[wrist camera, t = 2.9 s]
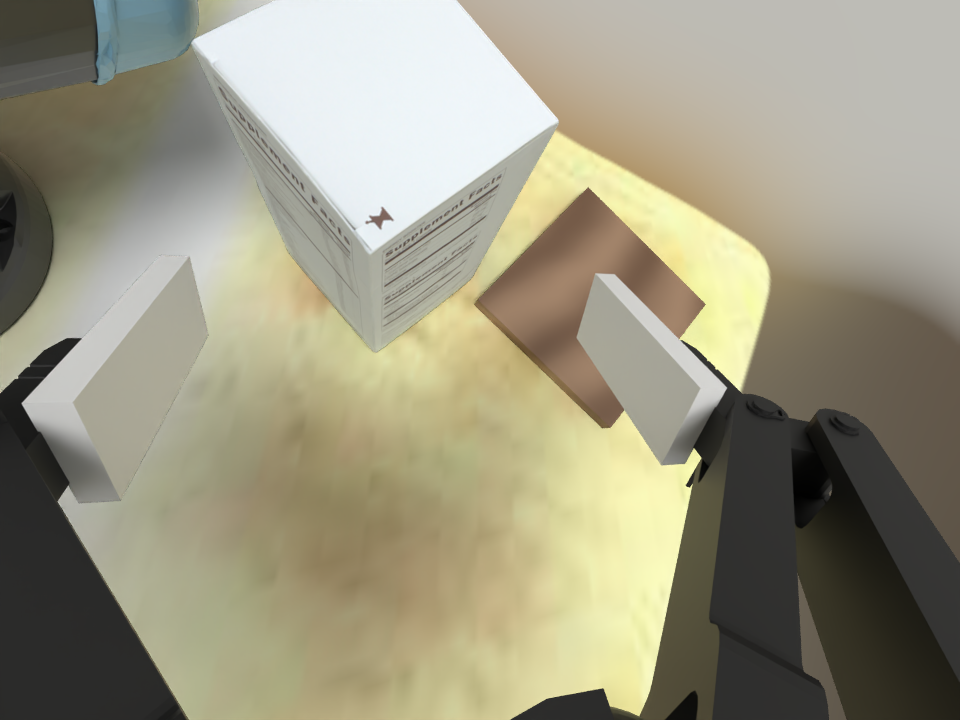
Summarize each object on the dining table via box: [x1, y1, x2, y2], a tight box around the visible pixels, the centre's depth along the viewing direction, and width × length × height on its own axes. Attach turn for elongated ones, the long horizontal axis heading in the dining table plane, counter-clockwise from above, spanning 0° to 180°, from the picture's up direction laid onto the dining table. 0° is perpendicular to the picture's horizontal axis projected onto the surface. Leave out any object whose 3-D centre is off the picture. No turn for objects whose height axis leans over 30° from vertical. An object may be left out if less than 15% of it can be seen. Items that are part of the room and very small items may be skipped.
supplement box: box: [192, 0, 559, 352], centre depth 24 cm, size 10×9×17 cm
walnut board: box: [474, 188, 706, 428], centre depth 34 cm, size 13×13×1 cm
